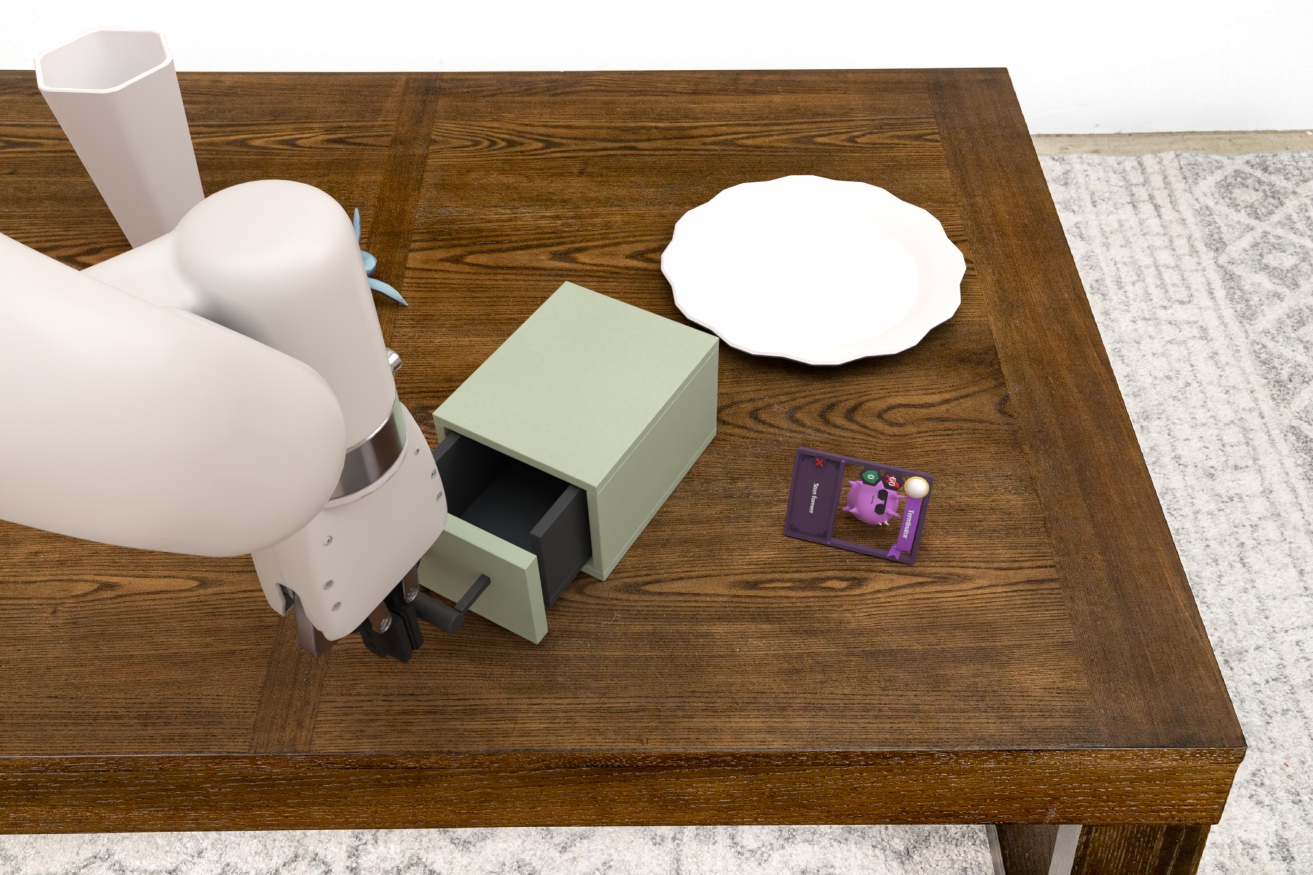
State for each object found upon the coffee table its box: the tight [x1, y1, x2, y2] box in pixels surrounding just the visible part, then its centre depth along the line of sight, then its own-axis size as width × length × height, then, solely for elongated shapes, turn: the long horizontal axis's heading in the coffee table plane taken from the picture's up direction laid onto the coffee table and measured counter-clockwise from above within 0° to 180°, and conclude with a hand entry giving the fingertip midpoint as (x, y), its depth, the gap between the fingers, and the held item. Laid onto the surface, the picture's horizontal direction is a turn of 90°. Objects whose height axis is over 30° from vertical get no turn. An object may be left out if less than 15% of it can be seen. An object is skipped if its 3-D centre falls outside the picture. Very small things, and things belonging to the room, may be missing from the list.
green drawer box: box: [431, 280, 720, 582], centre depth 80 cm, size 16×13×10 cm
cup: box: [33, 26, 206, 249], centre depth 98 cm, size 11×10×17 cm
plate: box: [660, 174, 967, 367], centre depth 98 cm, size 25×25×2 cm
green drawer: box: [413, 431, 593, 645], centre depth 75 cm, size 19×11×8 cm, turn 149°
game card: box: [782, 446, 935, 565], centre depth 78 cm, size 7×5×9 cm
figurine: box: [352, 207, 409, 307], centre depth 96 cm, size 10×12×8 cm
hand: (395, 643), depth 68 cm, fingers closed
